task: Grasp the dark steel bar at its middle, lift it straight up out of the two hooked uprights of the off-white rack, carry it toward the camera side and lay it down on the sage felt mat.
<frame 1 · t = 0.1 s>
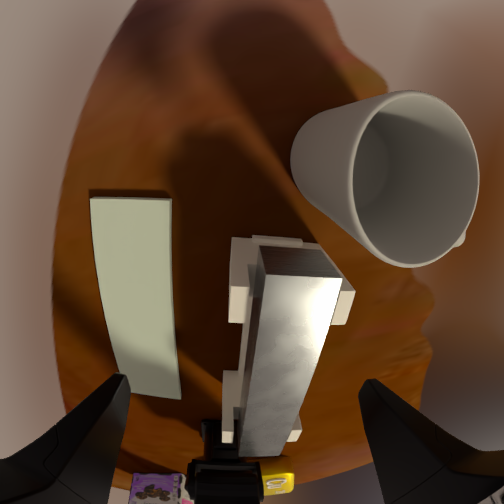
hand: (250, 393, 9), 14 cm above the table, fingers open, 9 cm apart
mug: (356, 173, 21), on the table
mat: (139, 317, 24), on the table
rail: (269, 363, 21), point 5 cm above the table, touching rack
candy box: (163, 476, 41), on the table
rack: (263, 326, 25), on the table
element tile: (253, 470, 40), on the table
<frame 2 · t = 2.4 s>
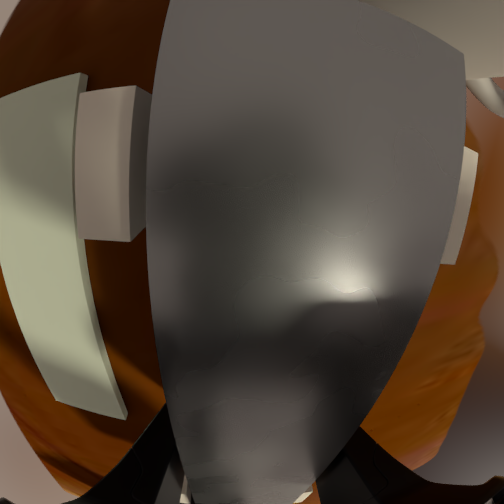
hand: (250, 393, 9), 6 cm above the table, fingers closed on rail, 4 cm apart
mug: (388, 42, 9), on the table
mat: (47, 286, 13), on the table
rail: (249, 380, 9), point 5 cm above the table, touching gripper, rack
rack: (243, 308, 14), on the table
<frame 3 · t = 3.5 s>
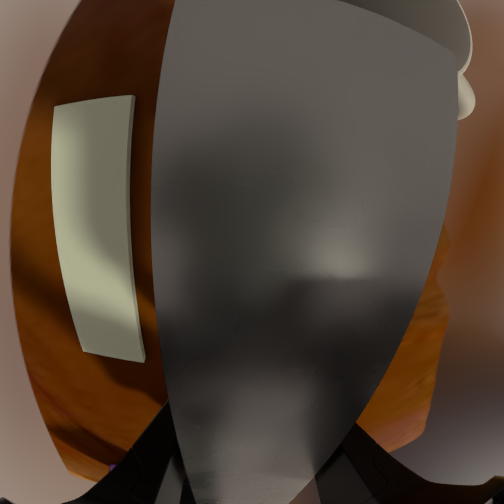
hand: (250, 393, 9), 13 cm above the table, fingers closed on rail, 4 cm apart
mug: (340, 70, 16), on the table
mat: (94, 245, 19), on the table
rail: (248, 376, 9), point 12 cm above the table, touching gripper
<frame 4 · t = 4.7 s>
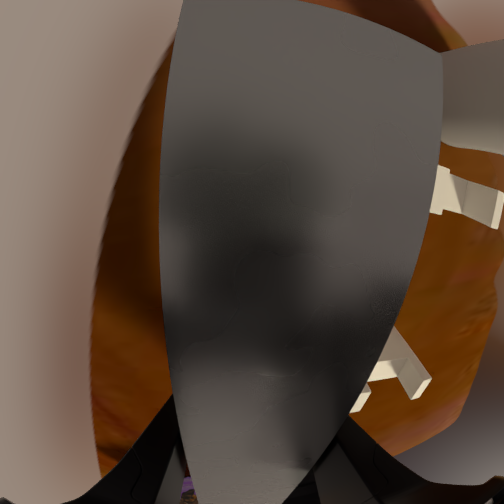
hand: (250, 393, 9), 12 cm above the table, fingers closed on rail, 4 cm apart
mug: (457, 113, 16), on the table
rail: (248, 368, 10), point 11 cm above the table, touching gripper
candy box: (202, 479, 37), on the table
rack: (382, 265, 21), on the table
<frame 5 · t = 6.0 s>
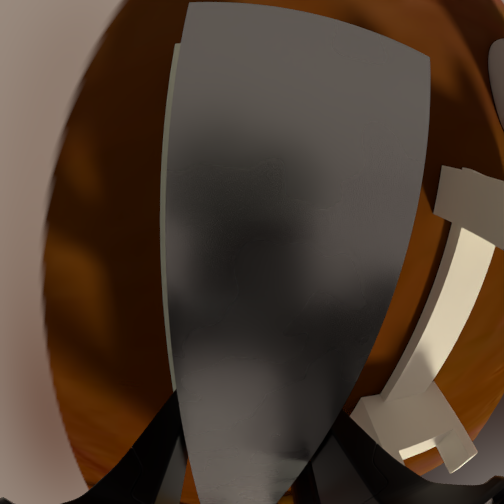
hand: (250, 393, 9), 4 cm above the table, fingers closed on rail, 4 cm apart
mat: (244, 326, 12), on the table
rail: (248, 361, 10), point 2 cm above the table, touching gripper
rack: (439, 320, 13), on the table
element tile: (326, 494, 28), on the table
when the fingers open (3 cm above the table, at t = 7.1 s): rail stays where it is, resting on mat.
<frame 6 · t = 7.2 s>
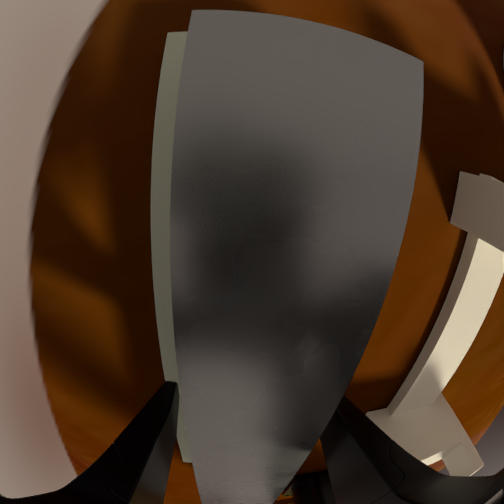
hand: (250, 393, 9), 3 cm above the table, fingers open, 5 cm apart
mat: (246, 346, 11), on the table
rail: (248, 358, 10), point 1 cm above the table, touching mat
rack: (450, 333, 12), on the table
element tile: (329, 500, 26), on the table
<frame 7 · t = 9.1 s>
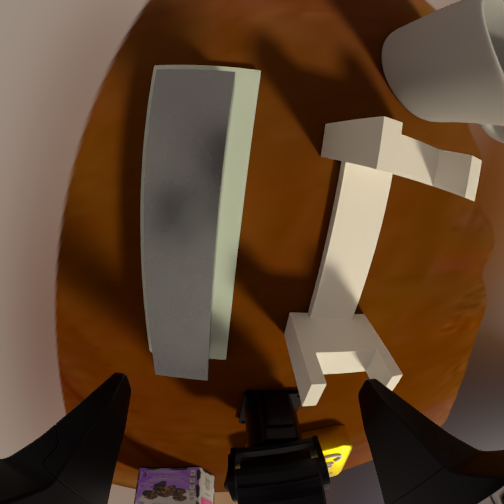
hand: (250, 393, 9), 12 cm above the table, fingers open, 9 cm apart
mug: (433, 88, 16), on the table
mat: (190, 230, 19), on the table
rail: (188, 232, 18), point 1 cm above the table, touching mat
candy box: (175, 471, 36), on the table
rack: (348, 246, 20), on the table
element tile: (295, 449, 34), on the table
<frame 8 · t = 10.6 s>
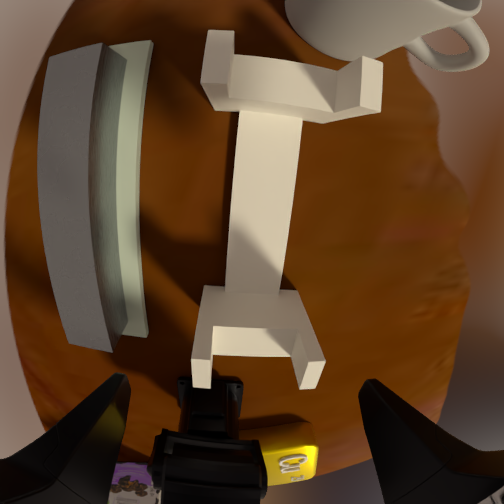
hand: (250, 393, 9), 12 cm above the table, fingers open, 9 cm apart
mug: (358, 29, 14), on the table
mat: (97, 198, 17), on the table
rail: (92, 200, 17), point 1 cm above the table, touching mat
candy box: (142, 467, 34), on the table
rack: (260, 206, 18), on the table
element tile: (260, 448, 32), on the table
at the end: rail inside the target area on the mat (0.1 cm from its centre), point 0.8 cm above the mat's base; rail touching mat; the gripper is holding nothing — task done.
